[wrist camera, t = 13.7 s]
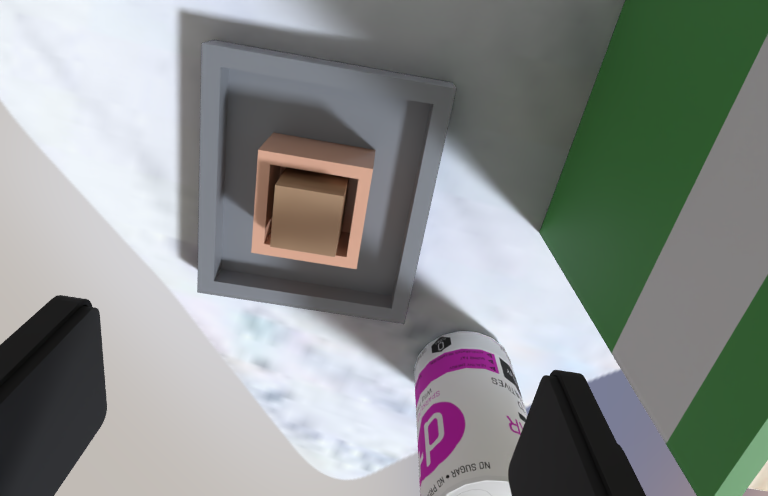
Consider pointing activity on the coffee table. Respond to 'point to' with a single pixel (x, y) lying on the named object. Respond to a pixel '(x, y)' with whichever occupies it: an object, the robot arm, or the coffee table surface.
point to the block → (308, 211)
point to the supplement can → (466, 416)
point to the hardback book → (679, 227)
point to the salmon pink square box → (314, 158)
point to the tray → (325, 123)
